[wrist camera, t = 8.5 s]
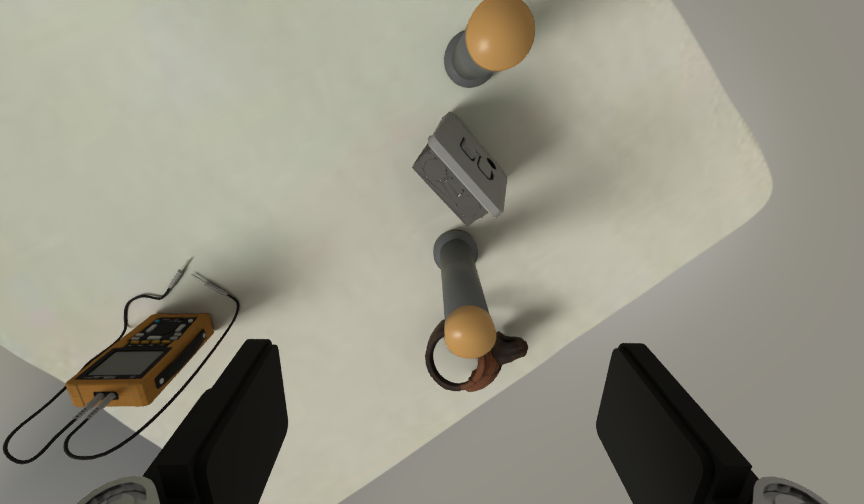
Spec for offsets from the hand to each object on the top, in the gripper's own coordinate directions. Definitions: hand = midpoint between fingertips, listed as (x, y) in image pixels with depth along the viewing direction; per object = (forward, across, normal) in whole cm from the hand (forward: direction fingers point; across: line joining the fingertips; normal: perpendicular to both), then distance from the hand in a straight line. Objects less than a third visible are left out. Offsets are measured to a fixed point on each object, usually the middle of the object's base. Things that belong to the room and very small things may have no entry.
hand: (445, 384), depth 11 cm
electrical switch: (+34, -4, -1) cm, 35 cm away
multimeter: (+35, +30, +16) cm, 49 cm away
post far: (+34, -3, +9) cm, 36 cm away
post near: (+34, -4, -11) cm, 36 cm away
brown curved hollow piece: (+34, -6, +22) cm, 41 cm away
